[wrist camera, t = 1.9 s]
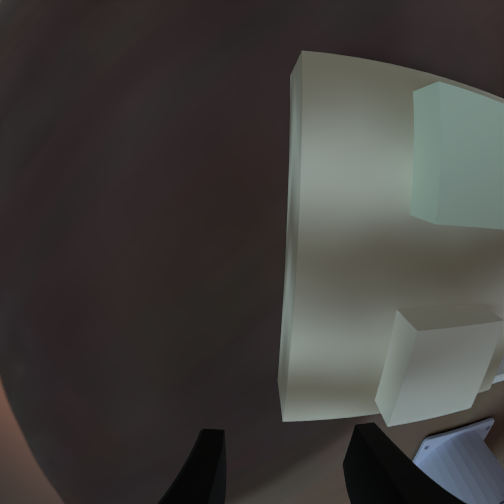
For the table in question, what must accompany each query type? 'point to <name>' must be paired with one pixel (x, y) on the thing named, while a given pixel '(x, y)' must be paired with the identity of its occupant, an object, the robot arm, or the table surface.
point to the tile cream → (436, 361)
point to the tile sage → (458, 157)
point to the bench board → (364, 237)
